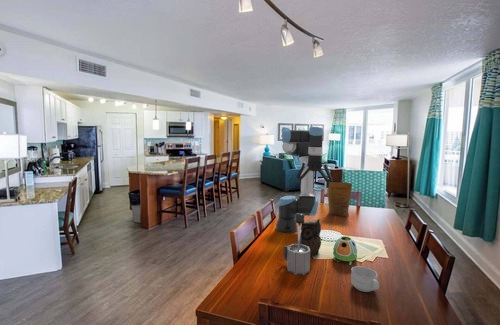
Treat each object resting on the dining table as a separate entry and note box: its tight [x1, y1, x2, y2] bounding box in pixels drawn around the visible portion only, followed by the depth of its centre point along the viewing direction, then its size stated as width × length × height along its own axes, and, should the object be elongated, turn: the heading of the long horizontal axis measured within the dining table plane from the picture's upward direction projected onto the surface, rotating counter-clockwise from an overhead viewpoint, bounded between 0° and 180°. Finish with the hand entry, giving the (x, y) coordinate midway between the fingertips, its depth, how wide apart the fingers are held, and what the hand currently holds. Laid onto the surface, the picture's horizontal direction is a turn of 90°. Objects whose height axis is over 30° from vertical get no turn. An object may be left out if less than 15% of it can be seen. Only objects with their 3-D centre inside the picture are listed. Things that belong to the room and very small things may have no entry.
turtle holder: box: [332, 235, 358, 266], centre depth 150 cm, size 12×18×12 cm
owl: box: [300, 218, 322, 258], centre depth 154 cm, size 13×13×20 cm
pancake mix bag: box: [327, 181, 353, 217], centre depth 226 cm, size 7×19×28 cm, turn 63°
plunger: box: [291, 213, 306, 252], centre depth 136 cm, size 8×8×19 cm
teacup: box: [350, 265, 380, 293], centre depth 120 cm, size 14×11×8 cm
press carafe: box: [283, 243, 311, 276], centre depth 138 cm, size 14×11×11 cm
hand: (313, 192), depth 155 cm, fingers open, 13 cm apart
